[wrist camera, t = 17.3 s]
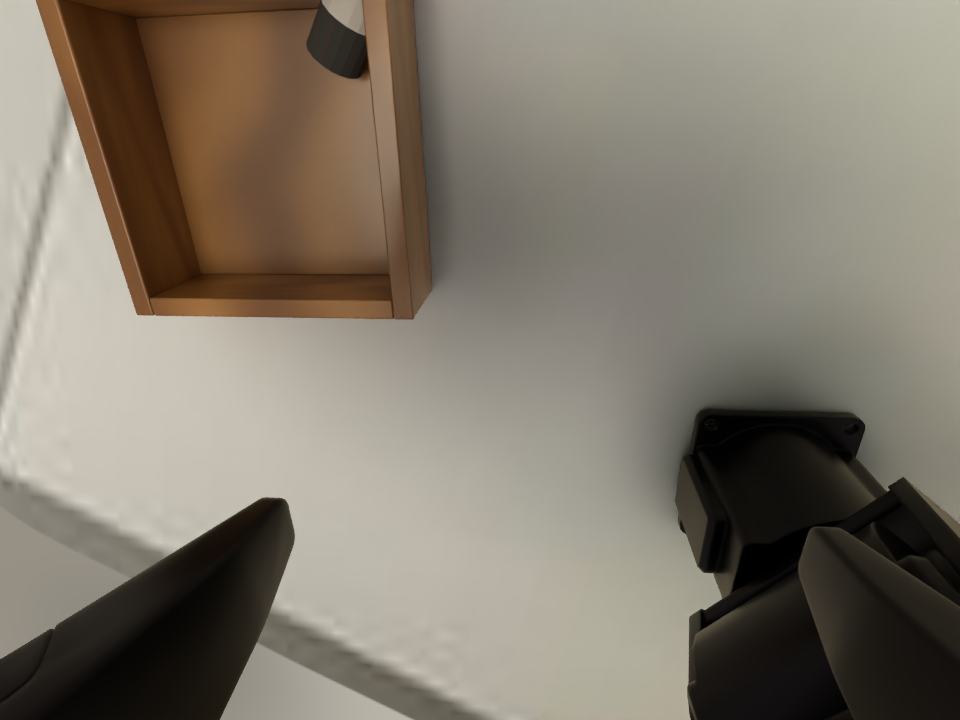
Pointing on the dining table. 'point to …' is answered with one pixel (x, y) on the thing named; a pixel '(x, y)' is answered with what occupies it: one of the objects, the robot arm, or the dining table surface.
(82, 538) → the dining table surface
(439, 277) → the dining table surface
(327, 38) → the marker
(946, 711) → the robot arm
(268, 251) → the box
